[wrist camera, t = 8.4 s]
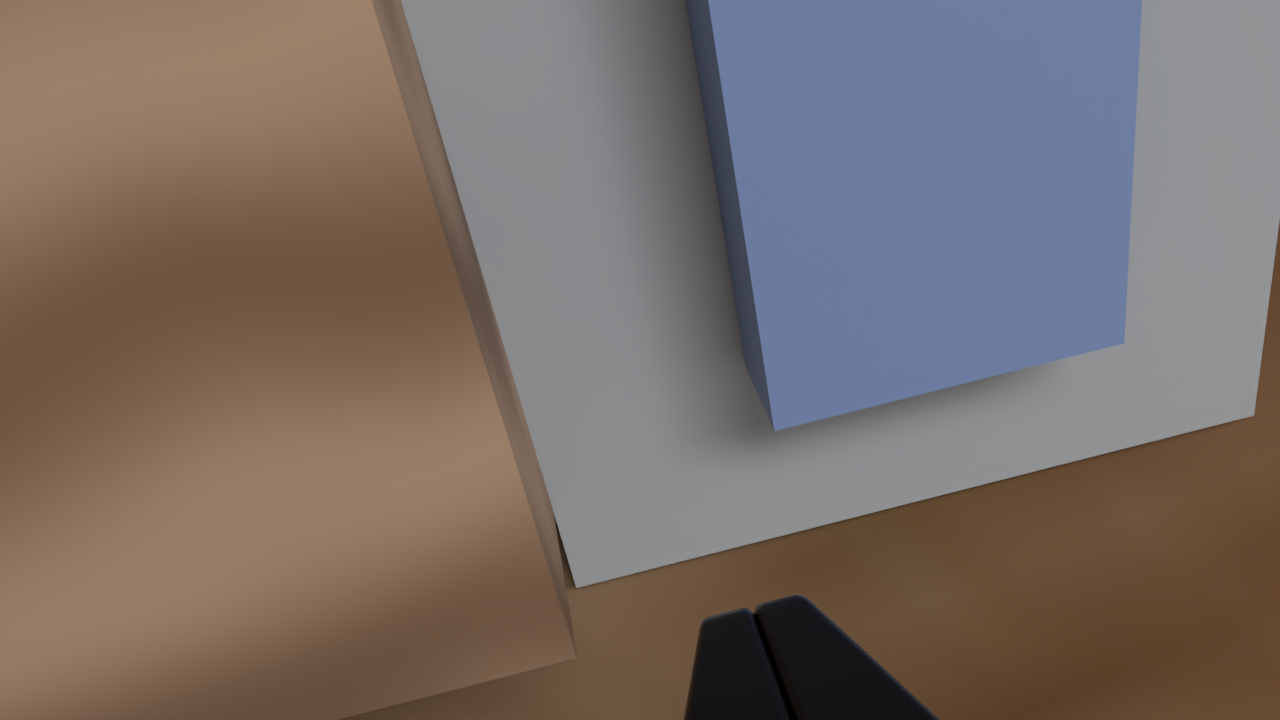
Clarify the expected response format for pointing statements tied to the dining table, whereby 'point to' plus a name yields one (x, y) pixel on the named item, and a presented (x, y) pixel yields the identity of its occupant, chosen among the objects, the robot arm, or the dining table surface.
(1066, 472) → the dining table surface
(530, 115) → the mat
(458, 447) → the board
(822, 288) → the card box
